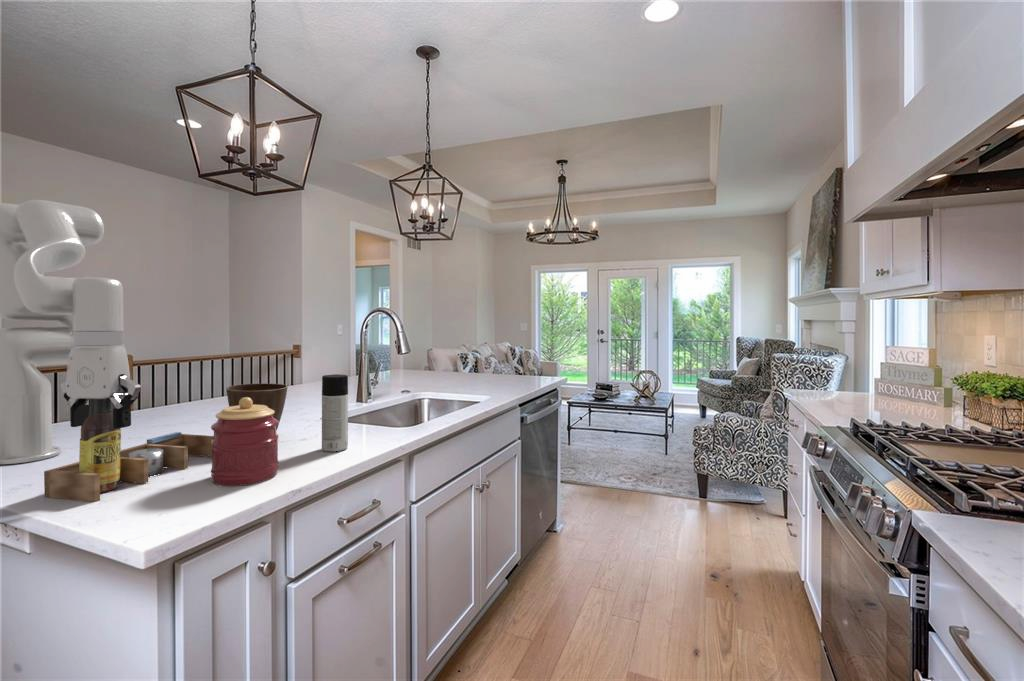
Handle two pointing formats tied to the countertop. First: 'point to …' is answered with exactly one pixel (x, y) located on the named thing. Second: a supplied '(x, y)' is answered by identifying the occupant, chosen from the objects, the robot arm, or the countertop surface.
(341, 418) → the spray can
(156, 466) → the tin
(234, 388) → the plant pot
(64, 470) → the caddy
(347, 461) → the countertop surface
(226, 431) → the canister
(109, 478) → the sauce bottle
